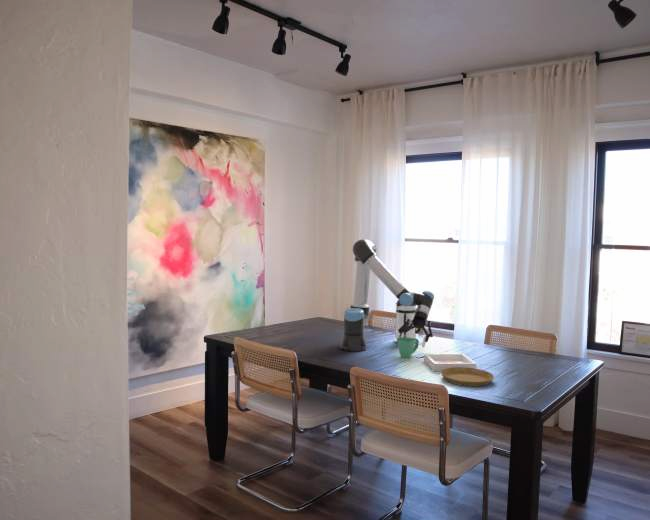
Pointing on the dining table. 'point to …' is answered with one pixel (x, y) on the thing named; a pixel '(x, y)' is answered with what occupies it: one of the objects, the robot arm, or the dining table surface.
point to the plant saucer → (467, 376)
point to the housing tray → (448, 361)
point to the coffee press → (405, 319)
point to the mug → (407, 346)
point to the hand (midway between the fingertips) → (411, 344)
